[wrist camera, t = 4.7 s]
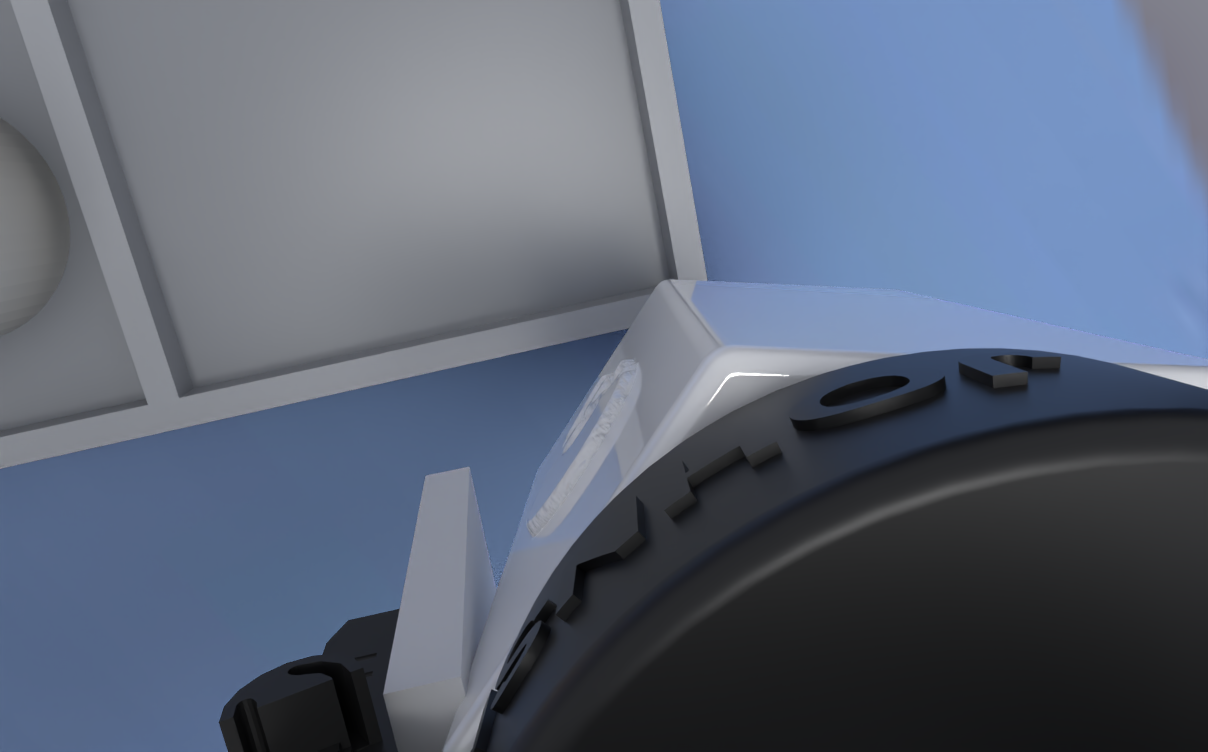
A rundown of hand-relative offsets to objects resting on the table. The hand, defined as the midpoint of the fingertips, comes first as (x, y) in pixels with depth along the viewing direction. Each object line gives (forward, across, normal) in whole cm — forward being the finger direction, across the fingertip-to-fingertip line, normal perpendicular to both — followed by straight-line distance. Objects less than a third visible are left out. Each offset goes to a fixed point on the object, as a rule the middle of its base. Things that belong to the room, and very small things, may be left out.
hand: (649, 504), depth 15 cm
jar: (+1, +2, -1) cm, 3 cm away
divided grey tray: (+17, -10, +8) cm, 21 cm away
